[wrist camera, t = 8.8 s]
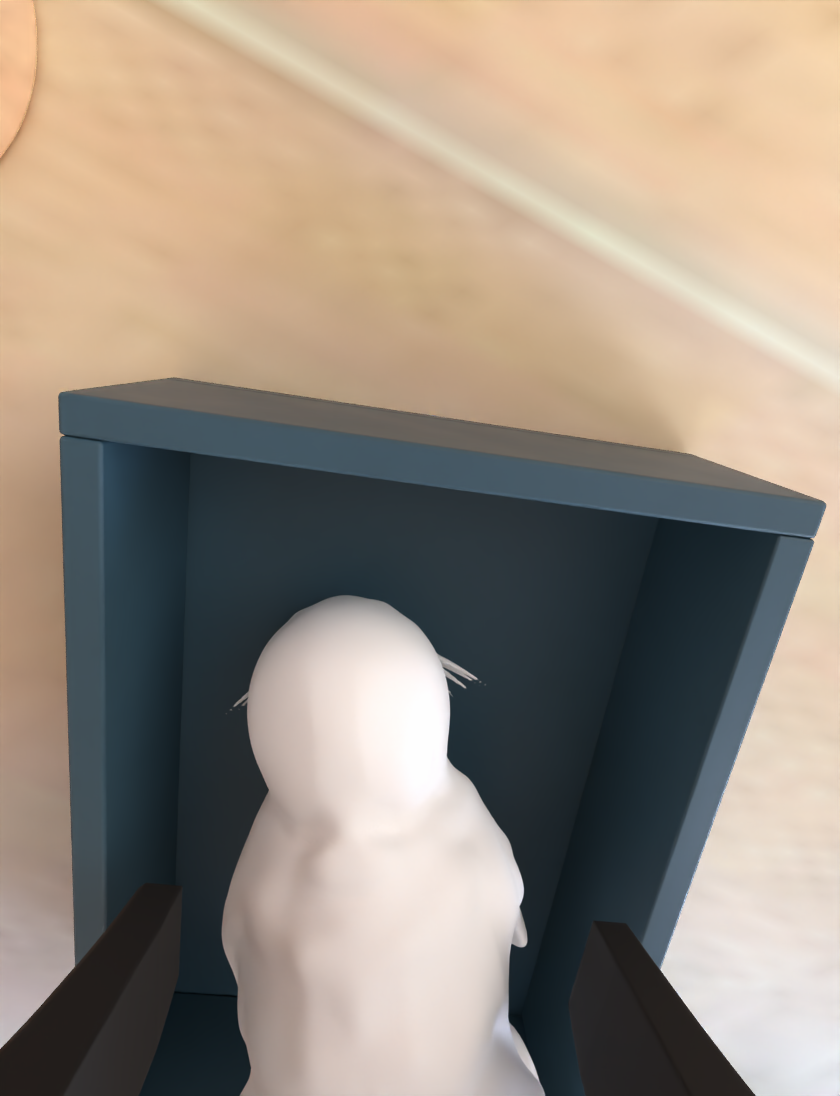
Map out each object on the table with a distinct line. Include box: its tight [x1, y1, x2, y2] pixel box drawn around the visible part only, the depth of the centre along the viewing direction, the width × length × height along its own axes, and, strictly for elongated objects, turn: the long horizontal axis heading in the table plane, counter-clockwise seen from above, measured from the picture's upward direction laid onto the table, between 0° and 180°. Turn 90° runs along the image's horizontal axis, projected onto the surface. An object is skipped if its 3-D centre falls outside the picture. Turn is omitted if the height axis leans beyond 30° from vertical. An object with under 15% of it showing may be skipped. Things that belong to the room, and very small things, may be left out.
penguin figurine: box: [222, 595, 545, 1096], centre depth 11 cm, size 6×8×12 cm
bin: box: [58, 378, 826, 1096], centre depth 13 cm, size 17×11×4 cm, turn 172°
